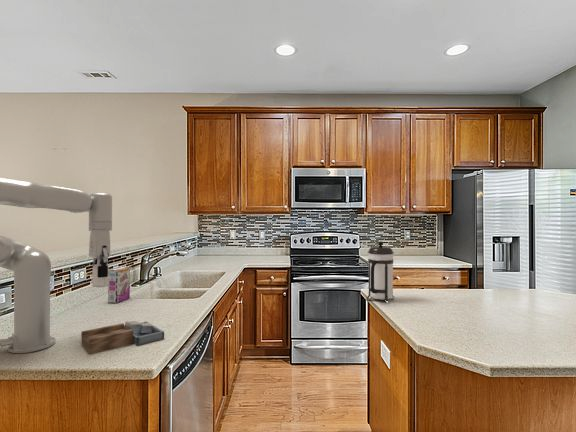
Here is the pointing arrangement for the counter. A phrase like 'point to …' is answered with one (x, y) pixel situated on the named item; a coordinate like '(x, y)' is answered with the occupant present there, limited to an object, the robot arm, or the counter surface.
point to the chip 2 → (146, 328)
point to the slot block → (106, 338)
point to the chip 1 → (133, 326)
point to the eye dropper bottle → (99, 281)
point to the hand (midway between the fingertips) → (100, 275)
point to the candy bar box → (119, 284)
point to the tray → (147, 336)
